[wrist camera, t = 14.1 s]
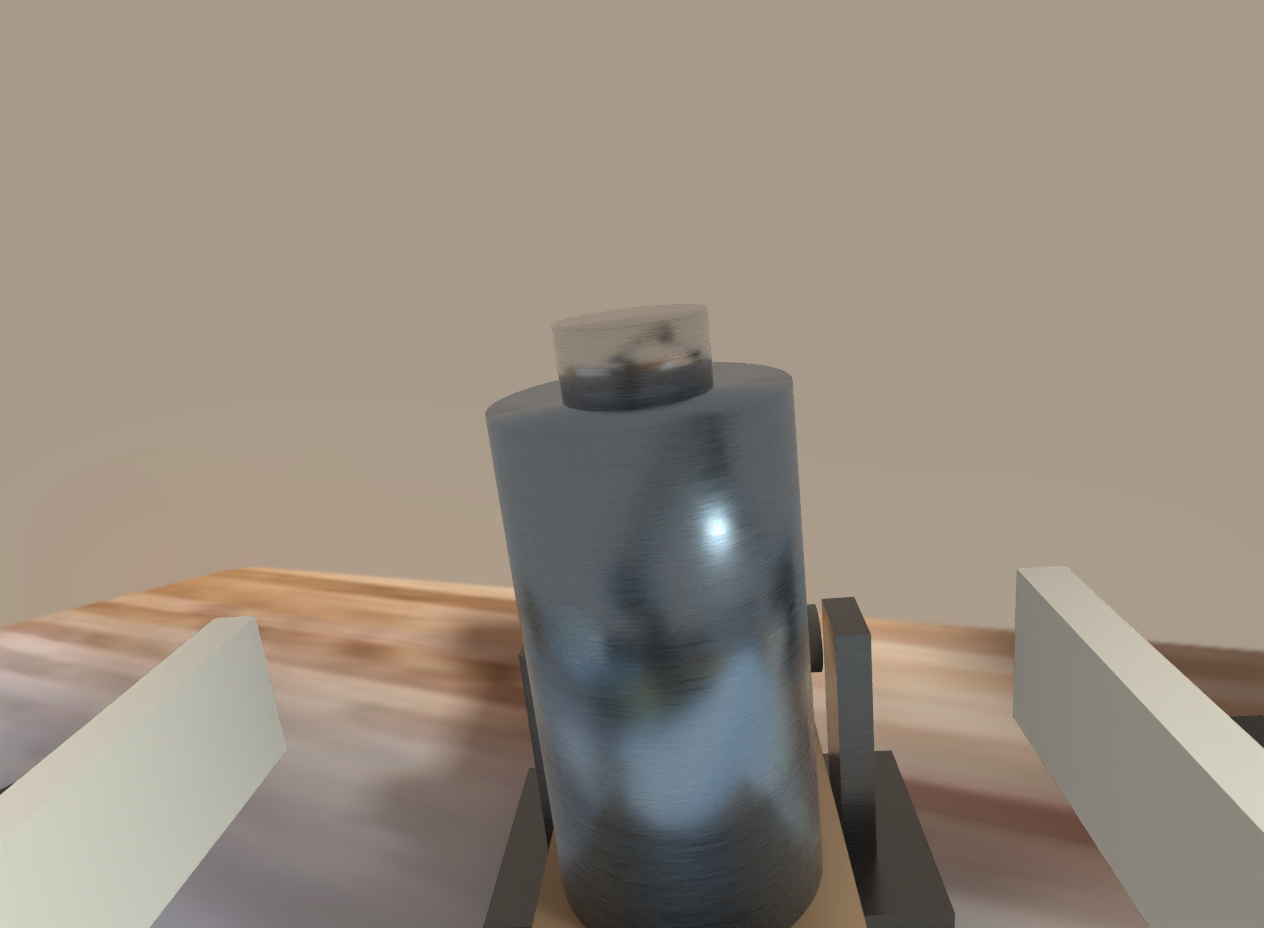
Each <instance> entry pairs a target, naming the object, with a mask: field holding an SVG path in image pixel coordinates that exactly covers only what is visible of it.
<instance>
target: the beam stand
mask: <svg viewBox="0 0 1264 928" xmlns="http://www.w3.org/2000/svg"><path fill="white" fill-rule="evenodd" d="M822 620H823V642H824V665H825V688H826V710H827V733H828V754H823V757H824V761H825V765H826V769H827V773H828V777H829V781H830V785H831V789H832V793H833V797H834V801H835V805H836V808H837V812H838V816H839V820H840V824H841V828H842V832H843V836H844V840H845V844H846V848H847V852H848V856H849V859H850V863H851V867H852V871H853V875H854V879H855V883H856V887H857V891H858V895H859V899H860V903H861V907H862V910H863V914H864V918H865V922H866V926H867V928H955V913H954V910H953V908H952V905H951V903H950V900H949V897H948V895H947V892H946V890H945V887H944V884H943V882H942V879H941V877H940V874H939V872H938V869H937V866H936V864H935V861H934V859H933V856H932V854H931V851H930V848H929V846H928V843H927V841H926V838H925V836H924V833H923V830H922V828H921V825H920V823H919V820H918V818H917V815H916V812H915V810H914V807H913V805H912V802H911V799H910V797H909V794H908V792H907V789H906V787H905V784H904V781H903V779H902V776H901V774H900V771H899V769H898V766H897V763H896V761H895V758H894V756H893V753H892V751H874V732H873V696H872V660H871V634H870V631H869V629H868V627H867V625H866V622H865V620H864V618H863V616H862V614H861V612H860V609H859V607H858V605H857V602H856V600H855V598H854V597H846V598H830V599H822ZM519 660H520V667H521V674H522V680H523V687H524V693H525V700H526V707H527V713H528V720H529V727H530V733H531V740H532V746H533V753H534V760H535V766H536V768H529V771H528V775H527V778H526V782H525V785H524V789H523V792H522V795H521V799H520V802H519V806H518V809H517V813H516V816H515V820H514V823H513V827H512V830H511V834H510V837H509V841H508V844H507V847H506V851H505V854H504V858H503V861H502V865H501V868H500V872H499V875H498V879H497V882H496V886H495V889H494V893H493V896H492V899H491V903H490V906H489V910H488V913H487V917H486V920H485V924H484V927H483V928H532V925H533V921H534V916H535V911H536V907H537V902H538V898H539V893H540V889H541V884H542V879H543V875H544V870H545V866H546V861H547V856H548V852H549V847H550V843H551V838H552V833H553V829H554V825H553V819H552V813H551V807H550V801H549V795H548V789H547V783H546V777H545V771H544V765H543V759H542V753H541V747H540V741H539V735H538V729H537V723H536V717H535V711H534V705H533V699H532V693H531V687H530V681H529V675H528V669H527V663H526V657H525V651H524V645H523V646H522V649H521V651H520V654H519Z"/></svg>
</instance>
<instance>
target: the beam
mask: <svg viewBox="0 0 1264 928" xmlns="http://www.w3.org/2000/svg"><path fill="white" fill-rule="evenodd" d="M807 616H808V632H809V648H810V663H811V672H822V669H823V649H822V638H821V629H820V622H819V617H818V612H817V608H816V606H815V604H811V605H807ZM814 727H815V742H816V758H817V774H818V790H819V806H820V821H821V837H822V853H823V869H822V876H821V881H820V885H819V888H818V890H817V892H816V895H815V897H814V899H813V901H812V902H811V904H810V905H809V907H808V908H807V910H806V912H805V913H804V914H803V915H802V916H801V917H800V918H799V919H798V921H797V922H796V923H795V924H794V925H793V926H791V927H790V928H867V926H866V922H865V918H864V914H863V910H862V907H861V903H860V899H859V895H858V891H857V887H856V883H855V879H854V875H853V871H852V867H851V863H850V859H849V856H848V852H847V848H846V844H845V840H844V836H843V832H842V828H841V824H840V820H839V816H838V812H837V808H836V805H835V801H834V797H833V793H832V789H831V785H830V781H829V777H828V773H827V769H826V765H825V761H824V757H823V753H822V750H821V746H820V742H819V738H818V734H817V730H816V726H815V722H814ZM532 928H586V927H585V926H584V925H583V924H582V923H581V922H580V921H579V919H578V918H577V916H576V915H575V914H574V912H573V911H572V908H571V906H570V904H569V902H568V900H567V897H566V893H565V890H564V886H563V879H562V873H561V867H560V861H559V855H558V849H557V843H556V837H555V831H554V829H553V833H552V838H551V843H550V847H549V852H548V856H547V861H546V866H545V870H544V875H543V879H542V884H541V889H540V893H539V898H538V902H537V907H536V911H535V916H534V921H533V925H532Z"/></svg>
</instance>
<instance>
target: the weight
mask: <svg viewBox="0 0 1264 928" xmlns="http://www.w3.org/2000/svg"><path fill="white" fill-rule="evenodd" d="M551 326H552V333H553V340H554V347H555V354H556V362H557V369H558V376H559V380H558V381H554V382H549V383H546V384H542V385H538V386H535V387H531V388H528V389H525V390H522V391H520V392H517V393H514V394H512V395H509V396H507V397H505V398H503V399H501V400H499V401H497V402H495V403H494V404H492V405H491V406H490V407H489V408H488V409H487V411H486V415H485V417H486V423H487V429H488V435H489V441H490V447H491V453H492V459H493V465H494V471H495V477H496V483H497V488H498V495H499V501H500V507H501V512H502V519H503V525H504V531H505V537H506V543H507V549H508V555H509V561H510V567H511V573H512V579H513V585H514V591H515V597H516V603H517V609H518V615H519V621H520V627H521V633H522V639H523V645H524V651H525V657H526V663H527V669H528V675H529V681H530V687H531V693H532V699H533V705H534V711H535V717H536V723H537V729H538V735H539V741H540V747H541V753H542V759H543V765H544V771H545V777H546V783H547V789H548V795H549V801H550V807H551V813H552V819H553V825H554V831H555V837H556V843H557V849H558V855H559V861H560V867H561V873H562V879H563V886H564V890H565V893H566V897H567V900H568V902H569V904H570V906H571V908H572V911H573V912H574V914H575V915H576V916H577V918H578V919H579V921H580V922H581V923H582V924H583V925H584V926H585V927H586V928H790V927H791V926H793V925H794V924H795V923H796V922H797V921H798V919H799V918H800V917H801V916H802V915H803V914H804V913H805V912H806V910H807V908H808V907H809V905H810V904H811V902H812V901H813V899H814V897H815V895H816V892H817V890H818V888H819V885H820V881H821V876H822V869H823V853H822V837H821V821H820V806H819V790H818V774H817V758H816V742H815V727H814V711H813V695H812V679H811V663H810V648H809V632H808V616H807V600H806V585H805V569H804V553H803V538H802V522H801V505H800V490H799V474H798V458H797V443H796V427H795V411H794V396H793V380H792V377H791V376H790V375H789V374H788V373H787V372H785V371H782V370H780V369H777V368H773V367H768V366H763V365H755V364H745V363H727V362H712V356H711V345H710V334H709V323H708V311H707V307H706V306H704V305H697V304H672V305H656V306H645V307H636V308H635V307H634V308H627V309H618V310H611V311H604V312H598V313H592V314H586V315H581V316H577V317H572V318H568V319H564V320H561V321H558V322H555V323H553V324H552V325H551Z"/></svg>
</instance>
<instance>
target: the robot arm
mask: <svg viewBox="0 0 1264 928" xmlns="http://www.w3.org/2000/svg"><path fill="white" fill-rule="evenodd" d="M1013 717H1014V719H1015V720H1016V722H1017V724H1018V725H1019V727H1020V728H1021V730H1022V731H1023V733H1024V734H1025V736H1026V737H1027V739H1028V741H1029V742H1030V744H1031V745H1032V747H1033V748H1034V750H1035V751H1036V753H1037V754H1038V756H1039V758H1040V759H1041V761H1042V762H1043V764H1044V765H1045V767H1046V768H1047V770H1048V771H1049V773H1050V774H1051V776H1052V778H1053V779H1054V781H1055V782H1056V784H1057V785H1058V787H1059V788H1060V790H1061V791H1062V793H1063V795H1064V796H1065V798H1066V799H1067V801H1068V802H1069V804H1070V805H1071V807H1072V808H1073V810H1074V812H1075V813H1076V815H1077V816H1078V818H1079V819H1080V821H1081V822H1082V824H1083V825H1084V827H1085V829H1086V830H1087V832H1088V833H1089V835H1090V836H1091V838H1092V839H1093V841H1094V842H1095V844H1096V846H1097V847H1098V849H1099V850H1100V852H1101V853H1102V855H1103V856H1104V858H1105V859H1106V861H1107V862H1108V864H1109V866H1110V867H1111V869H1112V870H1113V872H1114V873H1115V875H1116V876H1117V878H1118V879H1119V881H1120V883H1121V884H1122V886H1123V887H1124V889H1125V890H1126V892H1127V893H1128V895H1129V896H1130V898H1131V900H1132V901H1133V903H1134V904H1135V906H1136V907H1137V909H1138V910H1139V912H1140V913H1141V915H1142V917H1143V918H1144V920H1145V921H1146V923H1147V924H1148V926H1149V927H1150V928H1264V717H1263V716H1261V715H1259V716H1237V717H1229V716H1228V715H1227V714H1226V713H1225V712H1224V711H1223V710H1222V709H1220V708H1219V707H1218V706H1217V705H1216V704H1215V703H1214V702H1213V701H1212V700H1211V699H1210V698H1208V697H1207V696H1206V695H1205V694H1204V693H1203V692H1202V691H1201V690H1200V689H1199V688H1198V687H1197V686H1195V685H1194V684H1193V683H1192V682H1191V681H1190V680H1189V679H1188V678H1187V677H1186V676H1185V675H1184V674H1182V673H1181V672H1180V671H1179V670H1178V669H1177V668H1176V667H1175V666H1174V665H1173V664H1172V663H1170V662H1169V661H1168V660H1167V659H1166V658H1165V657H1164V656H1163V655H1162V654H1161V653H1160V652H1159V651H1157V650H1156V649H1155V648H1154V647H1153V646H1152V645H1151V644H1150V643H1149V642H1148V641H1147V640H1145V639H1144V638H1143V637H1142V636H1141V635H1140V634H1139V633H1138V632H1137V631H1136V630H1135V629H1134V628H1132V627H1131V626H1130V625H1129V624H1128V623H1127V622H1126V621H1125V620H1124V619H1123V618H1122V617H1120V616H1119V615H1118V614H1117V613H1116V612H1115V611H1114V610H1113V609H1112V608H1111V607H1110V606H1108V605H1107V604H1106V603H1105V602H1104V601H1103V600H1102V599H1101V598H1100V597H1098V595H1096V594H1095V593H1094V592H1093V591H1092V590H1091V589H1090V588H1089V587H1088V586H1087V585H1085V583H1084V582H1082V581H1081V580H1080V579H1079V578H1078V577H1077V576H1076V575H1075V574H1074V573H1073V572H1072V571H1071V570H1069V569H1068V568H1067V567H1066V566H1054V567H1037V568H1020V569H1017V579H1016V618H1015V659H1014V700H1013ZM286 751H287V747H286V743H285V739H284V735H283V731H282V726H281V722H280V718H279V714H278V709H277V705H276V701H275V697H274V693H273V688H272V684H271V680H270V676H269V672H268V667H267V663H266V659H265V655H264V650H263V646H262V642H261V638H260V634H259V629H258V625H257V621H256V617H255V616H243V617H226V618H214V619H213V620H212V621H211V622H209V623H208V624H207V625H206V626H205V627H203V628H202V629H201V630H200V631H199V632H197V633H196V634H195V635H194V636H192V637H191V638H190V639H189V640H188V641H186V642H185V643H184V644H183V645H182V646H180V647H179V648H178V649H177V650H175V651H174V652H173V653H172V654H171V655H169V656H168V657H167V658H166V659H165V660H163V661H162V662H161V663H160V664H158V665H157V666H156V667H155V668H154V669H152V670H151V671H150V672H149V673H148V674H146V675H145V676H144V677H143V678H141V679H140V680H139V681H138V682H137V683H135V684H134V685H133V686H132V687H131V688H129V689H128V690H127V691H126V692H124V693H123V694H122V695H121V696H120V697H118V698H117V699H116V700H115V701H114V702H112V703H111V704H110V705H109V706H107V707H106V708H105V709H104V710H103V711H101V712H100V713H99V714H98V715H97V716H95V717H94V718H93V719H92V720H90V721H89V722H88V723H87V724H86V725H84V726H83V727H82V728H81V729H80V730H78V731H77V732H76V733H75V734H73V735H72V736H71V737H70V738H69V739H67V740H66V741H65V742H64V743H63V744H61V745H60V746H59V747H58V748H56V749H55V750H54V751H53V752H52V753H50V754H49V755H48V756H47V757H46V758H44V759H43V760H42V761H41V762H39V763H38V764H37V765H36V766H35V767H33V768H32V769H31V770H30V771H29V772H27V773H26V774H25V775H24V776H22V777H21V778H20V779H19V780H18V781H16V782H14V783H12V784H11V785H9V786H7V787H5V788H4V789H2V790H0V928H150V927H151V926H152V924H153V923H154V922H155V920H156V919H157V918H158V916H159V915H160V914H161V913H162V911H163V910H164V909H165V907H166V906H167V905H168V904H169V902H170V901H171V900H172V898H173V897H174V896H175V894H176V893H177V892H178V891H179V889H180V888H181V887H182V885H183V884H184V883H185V882H186V880H187V879H188V878H189V876H190V875H191V874H192V872H193V871H194V870H195V869H196V867H197V866H198V865H199V863H200V862H201V861H202V860H203V858H204V857H205V856H206V854H207V853H208V852H209V850H210V849H211V848H212V847H213V845H214V844H215V843H216V841H217V840H218V839H219V838H220V836H221V835H222V834H223V832H224V831H225V830H226V828H227V827H228V826H229V825H230V823H231V822H232V821H233V819H234V818H235V817H236V816H237V814H238V813H239V812H240V810H241V809H242V808H243V806H244V805H245V804H246V803H247V801H248V800H249V799H250V797H251V796H252V795H253V794H254V792H255V791H256V790H257V788H258V787H259V786H260V784H261V783H262V782H263V781H264V779H265V778H266V777H267V775H268V774H269V773H270V772H271V770H272V769H273V768H274V766H275V765H276V764H277V762H278V761H279V760H280V759H281V757H282V756H283V755H284V753H285V752H286Z"/></svg>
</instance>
